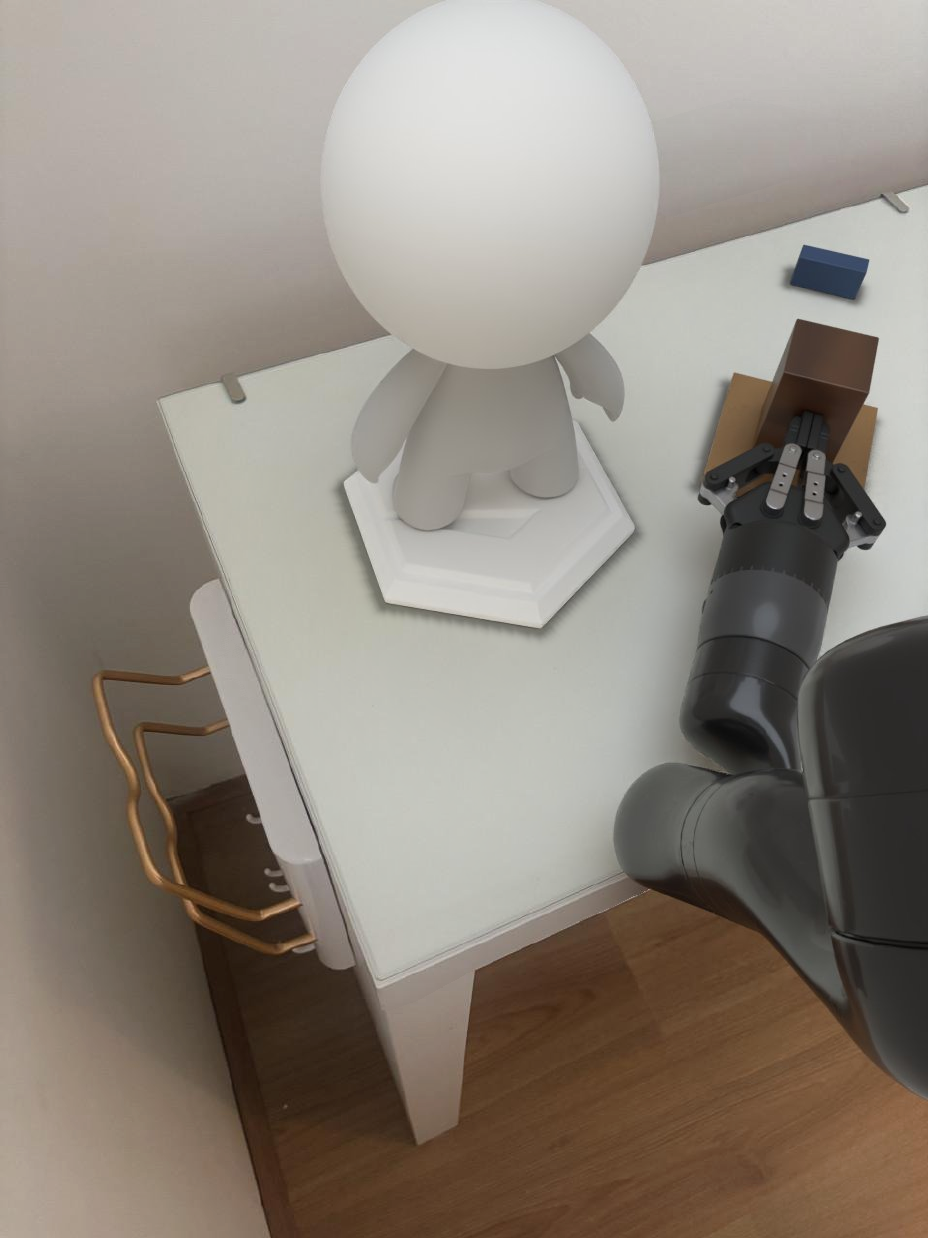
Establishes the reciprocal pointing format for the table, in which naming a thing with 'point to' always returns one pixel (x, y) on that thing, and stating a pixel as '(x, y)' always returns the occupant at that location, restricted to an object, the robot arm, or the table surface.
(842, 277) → the blue rectangular block
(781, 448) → the robot arm
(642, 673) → the table surface
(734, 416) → the block
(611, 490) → the big headed doll
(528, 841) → the table surface
